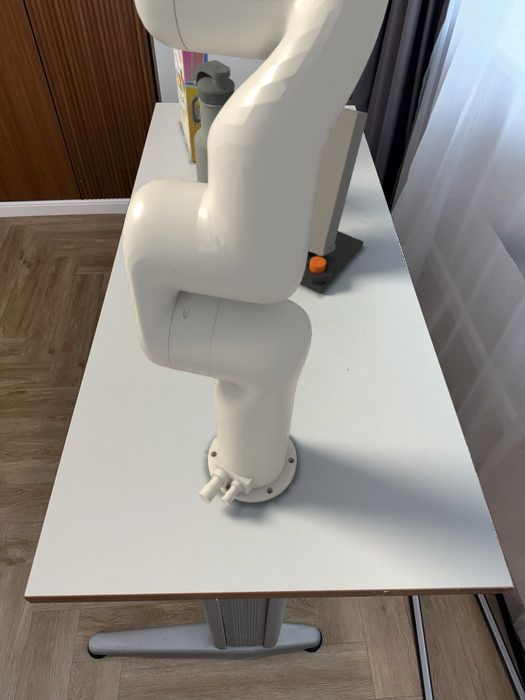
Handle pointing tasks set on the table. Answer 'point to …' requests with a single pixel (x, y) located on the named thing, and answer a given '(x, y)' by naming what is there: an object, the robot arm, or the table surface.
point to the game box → (188, 93)
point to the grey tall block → (335, 179)
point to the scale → (331, 263)
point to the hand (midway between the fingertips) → (328, 108)
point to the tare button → (317, 264)
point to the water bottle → (208, 106)
